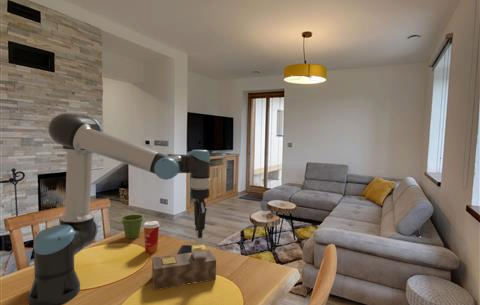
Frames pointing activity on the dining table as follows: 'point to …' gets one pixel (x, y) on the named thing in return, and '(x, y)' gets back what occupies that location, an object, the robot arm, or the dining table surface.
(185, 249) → the phone
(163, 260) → the peg left
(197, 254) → the peg right
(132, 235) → the plant pot
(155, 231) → the paper cup
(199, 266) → the walnut block
